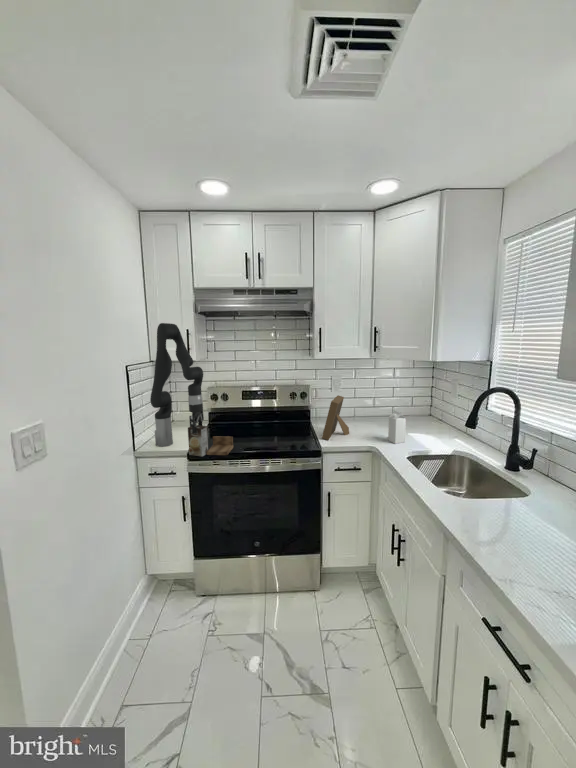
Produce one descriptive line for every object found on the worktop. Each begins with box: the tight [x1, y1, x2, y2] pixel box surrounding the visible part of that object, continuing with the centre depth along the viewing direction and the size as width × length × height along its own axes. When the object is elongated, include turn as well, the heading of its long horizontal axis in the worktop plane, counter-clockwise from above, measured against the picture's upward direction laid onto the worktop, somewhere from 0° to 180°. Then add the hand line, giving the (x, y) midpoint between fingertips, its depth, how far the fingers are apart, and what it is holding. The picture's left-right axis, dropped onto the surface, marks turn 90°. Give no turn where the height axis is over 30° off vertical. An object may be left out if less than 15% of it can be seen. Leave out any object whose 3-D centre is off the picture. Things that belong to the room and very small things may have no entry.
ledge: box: [206, 435, 234, 456], centre depth 188 cm, size 12×12×7 cm
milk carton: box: [387, 409, 407, 445], centre depth 197 cm, size 7×7×19 cm
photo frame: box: [321, 395, 350, 441], centre depth 211 cm, size 15×22×25 cm
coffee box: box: [187, 424, 209, 457], centre depth 184 cm, size 9×6×16 cm
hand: (197, 430), depth 183 cm, fingers open, 8 cm apart
